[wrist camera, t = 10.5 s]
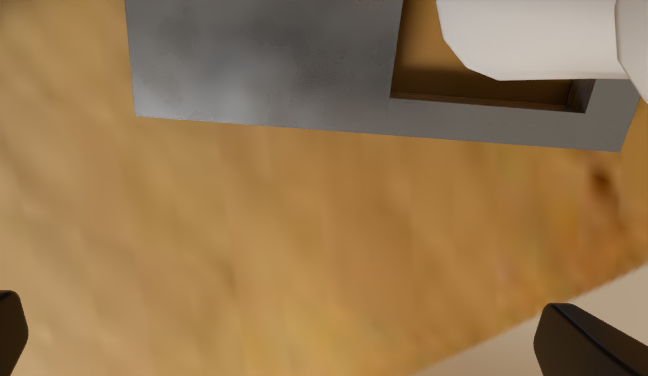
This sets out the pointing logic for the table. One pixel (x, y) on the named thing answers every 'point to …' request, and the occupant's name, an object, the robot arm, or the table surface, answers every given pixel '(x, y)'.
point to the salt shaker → (550, 38)
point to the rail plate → (335, 76)
